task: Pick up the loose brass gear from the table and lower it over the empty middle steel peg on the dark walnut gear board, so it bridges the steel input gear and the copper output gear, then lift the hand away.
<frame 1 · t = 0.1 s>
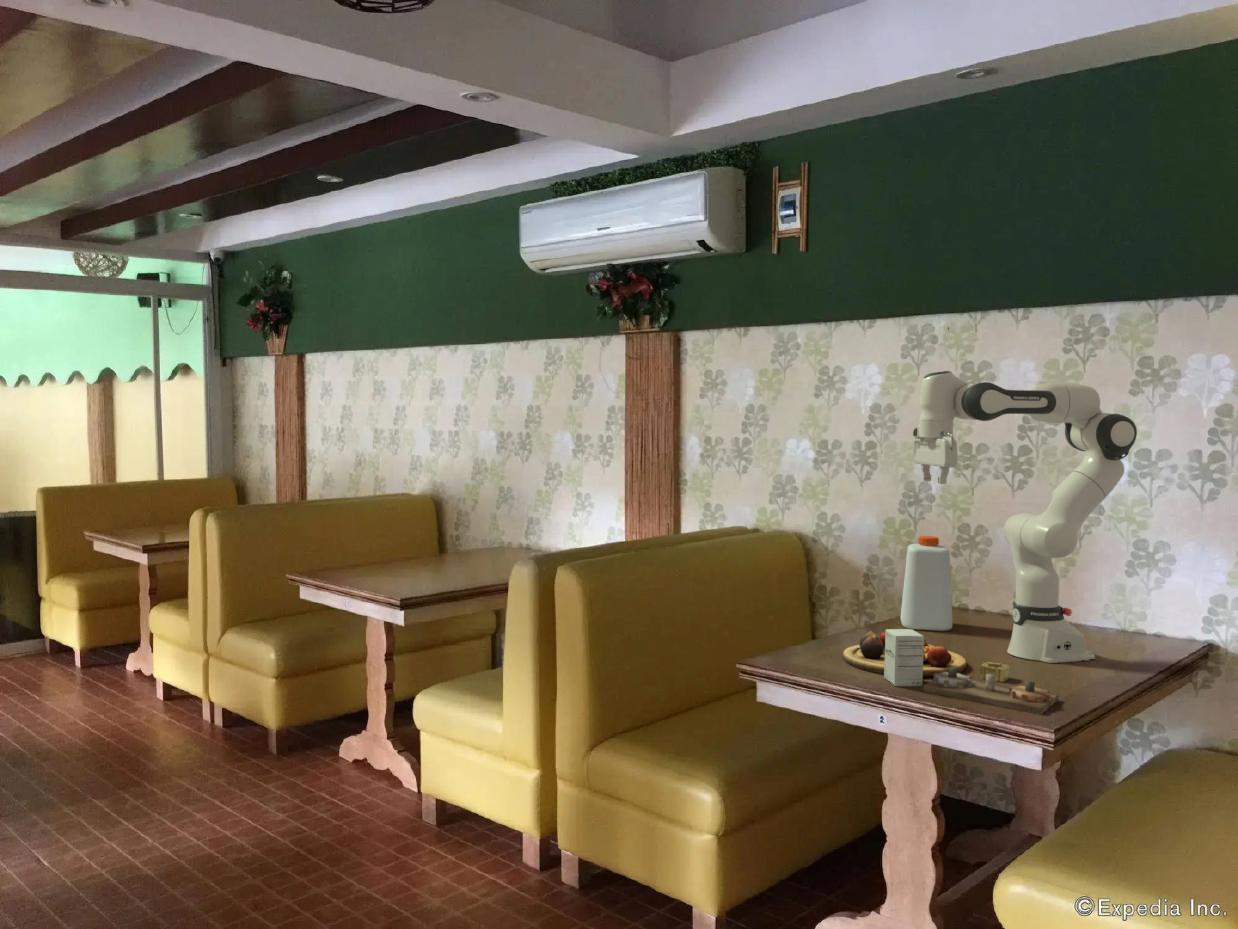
hand: (934, 482, 269), 48 cm above the table, tool pointing down, fingers open, 8 cm apart
brass gear: (994, 678, 251), on the table
plastic bottle: (925, 626, 311), on the table
supplement box: (903, 683, 246), on the table
wooden plate with food: (903, 664, 266), on the table
gear board: (989, 696, 235), on the table
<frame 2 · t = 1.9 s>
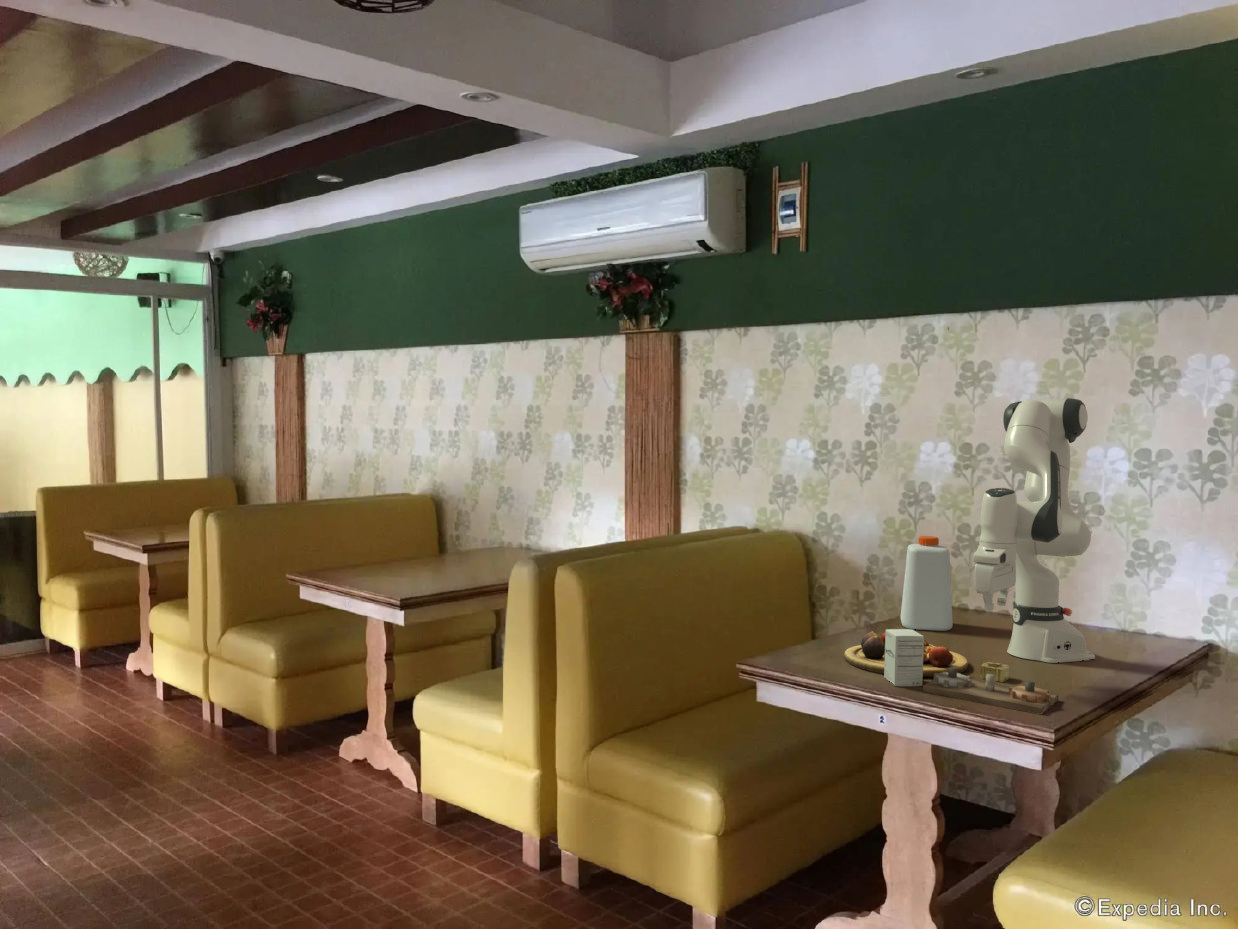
hand: (995, 607, 250), 18 cm above the table, tool pointing down, fingers open, 8 cm apart
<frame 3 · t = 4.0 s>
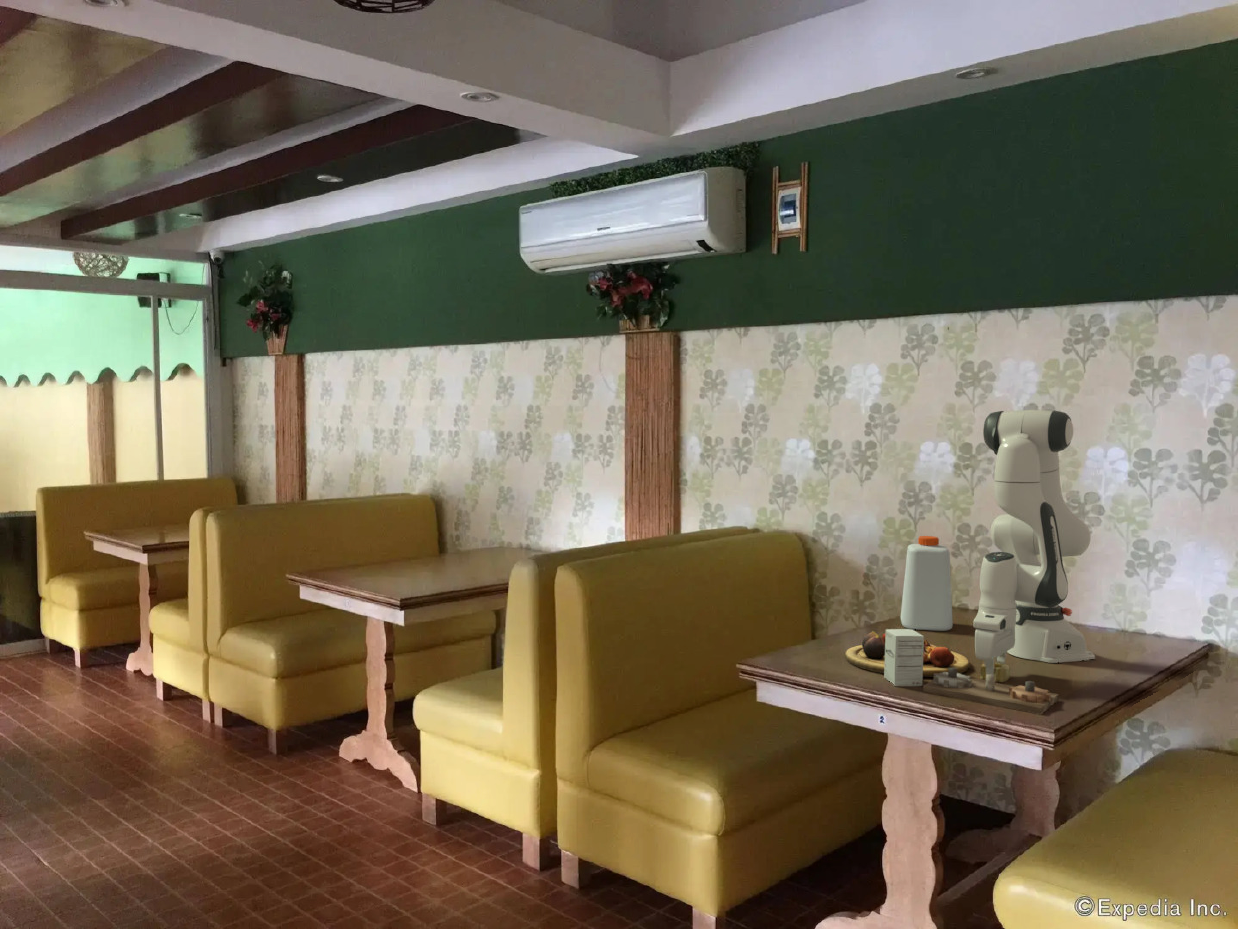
hand: (995, 671, 251), 2 cm above the table, tool pointing down, fingers closed on brass gear, 6 cm apart
brass gear: (994, 678, 251), on the table, touching gripper
everything else where it was.
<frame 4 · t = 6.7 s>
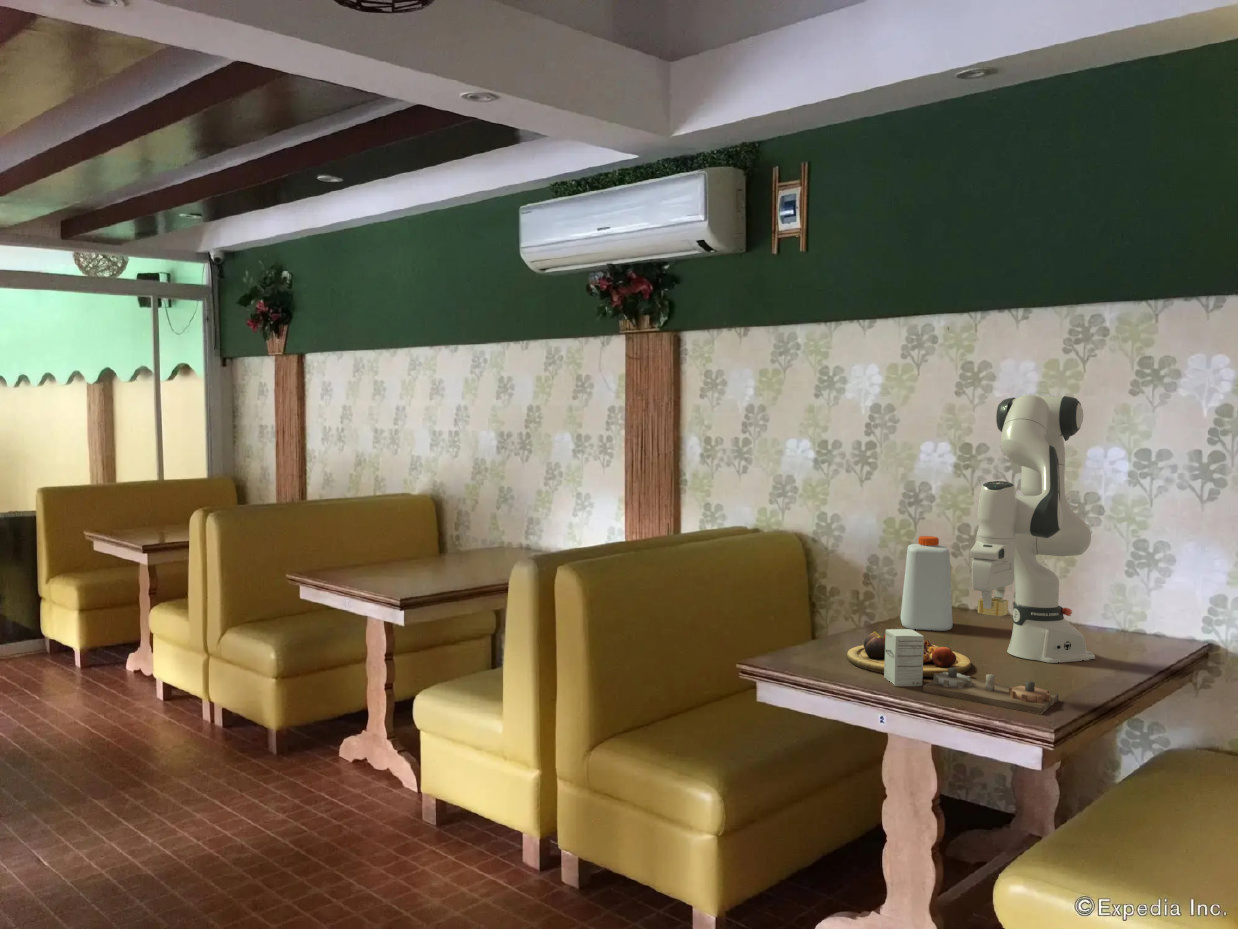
hand: (993, 606, 239), 20 cm above the table, tool pointing down, fingers closed on brass gear, 6 cm apart
brass gear: (992, 613, 239), point 19 cm above the table, touching gripper
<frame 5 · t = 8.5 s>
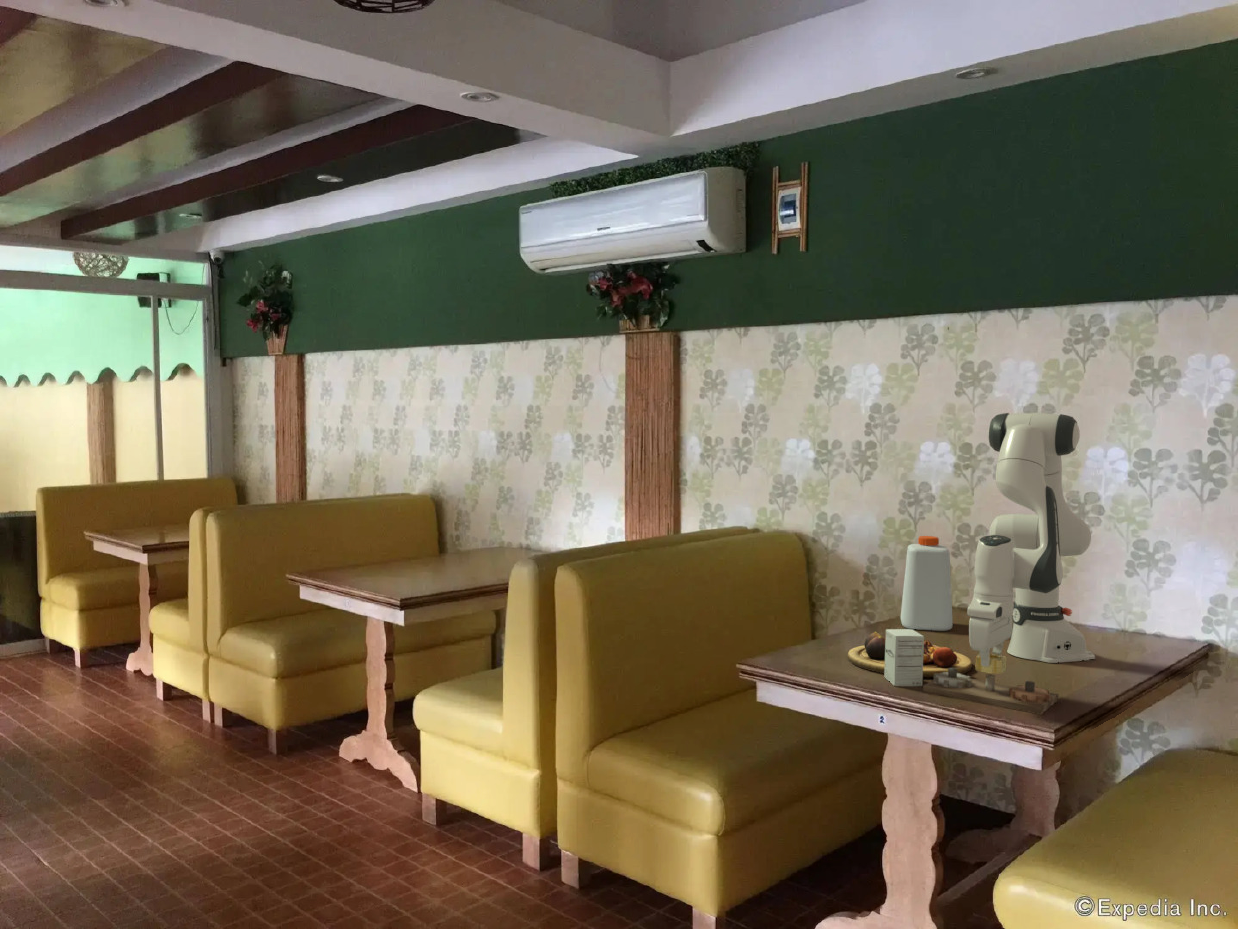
hand: (990, 663, 234), 8 cm above the table, tool pointing down, fingers closed on brass gear, 6 cm apart
brass gear: (990, 670, 234), point 6 cm above the table, touching gripper
when the fingers open (4 cm above the table, at t = 9.7 s): brass gear drops 1 cm, resting on gear board.
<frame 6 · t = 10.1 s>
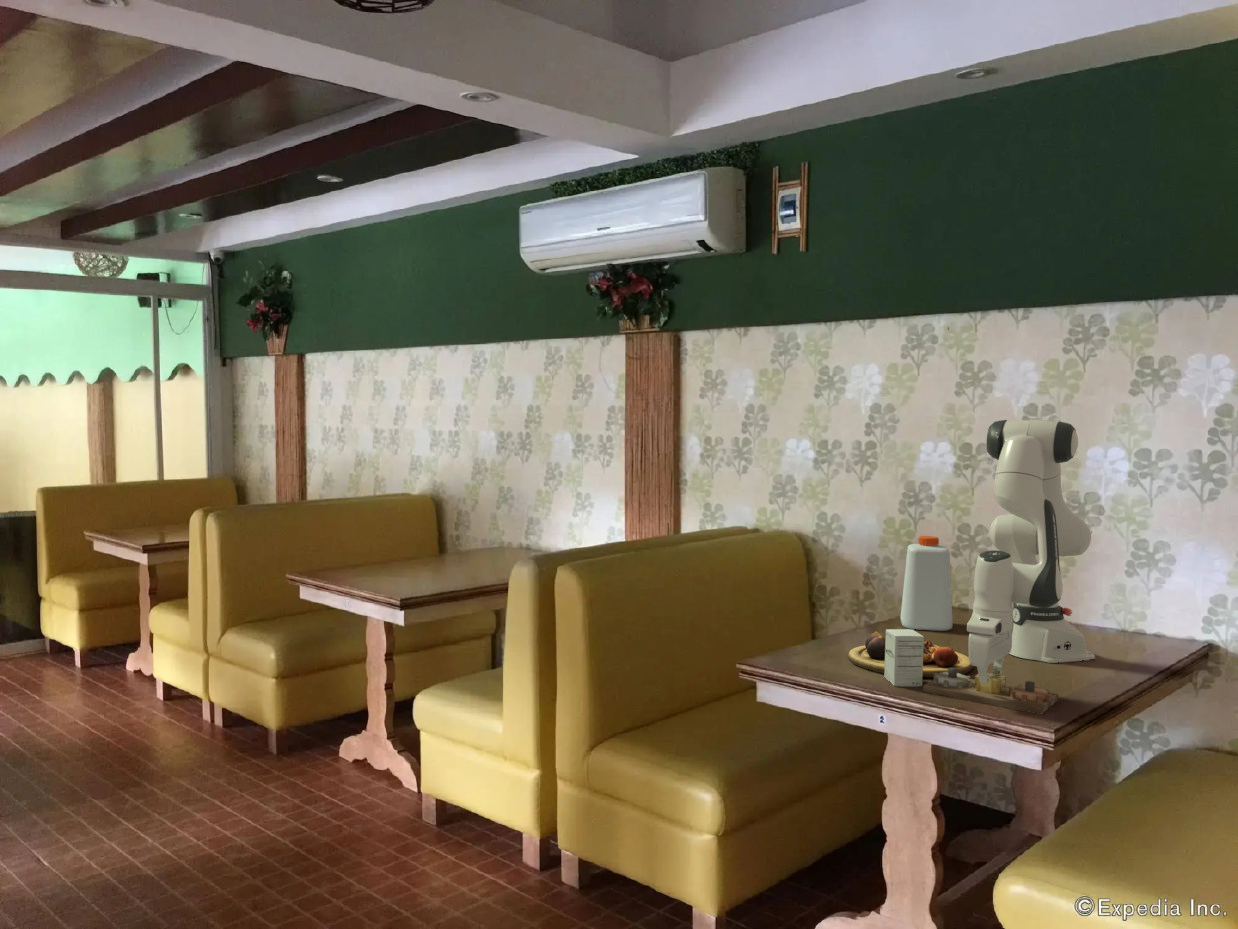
hand: (990, 678, 235), 4 cm above the table, tool pointing down, fingers open, 8 cm apart
brass gear: (989, 689, 235), point 1 cm above the table, touching gear board
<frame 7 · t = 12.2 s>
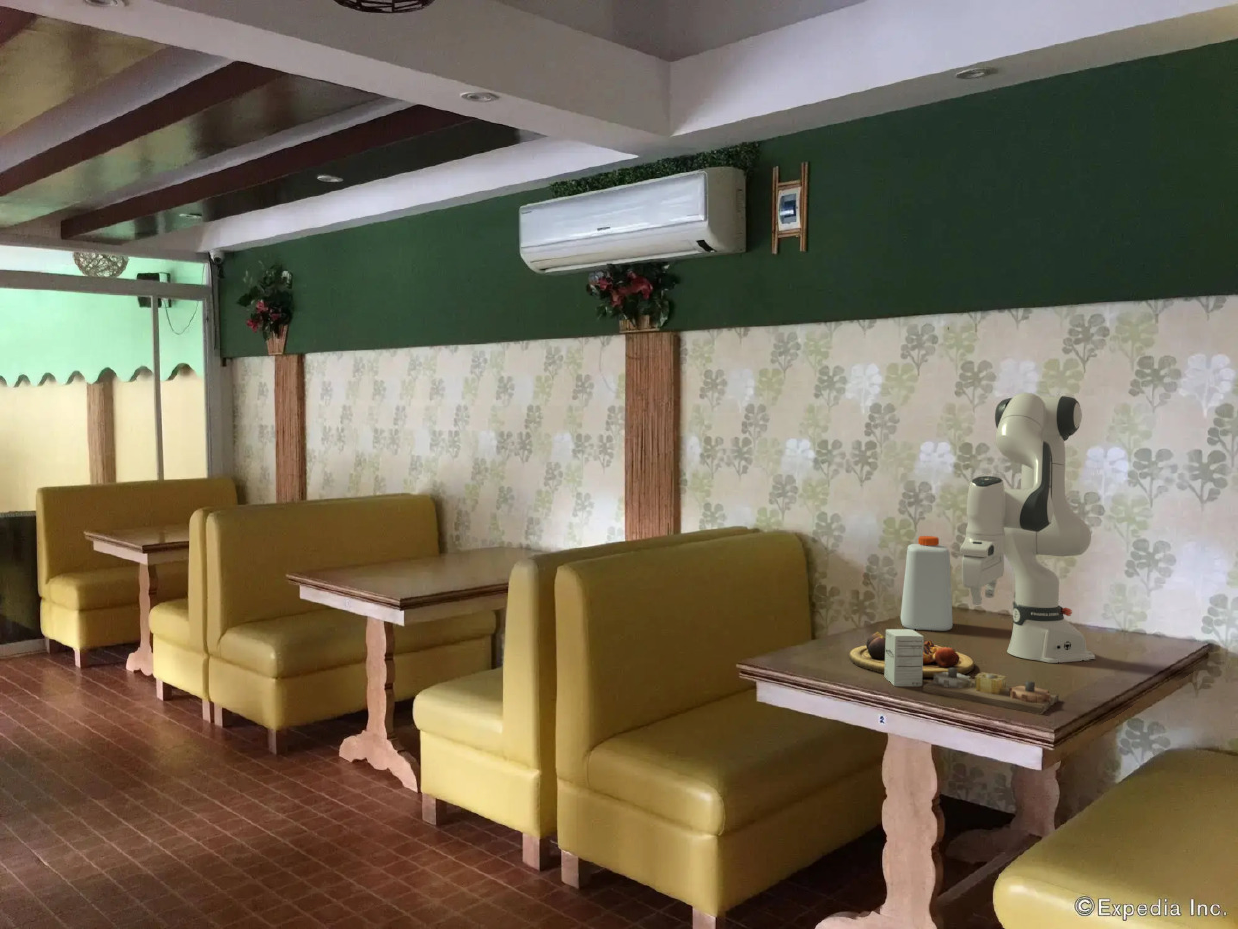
hand: (983, 600, 240), 21 cm above the table, tool pointing down, fingers open, 8 cm apart
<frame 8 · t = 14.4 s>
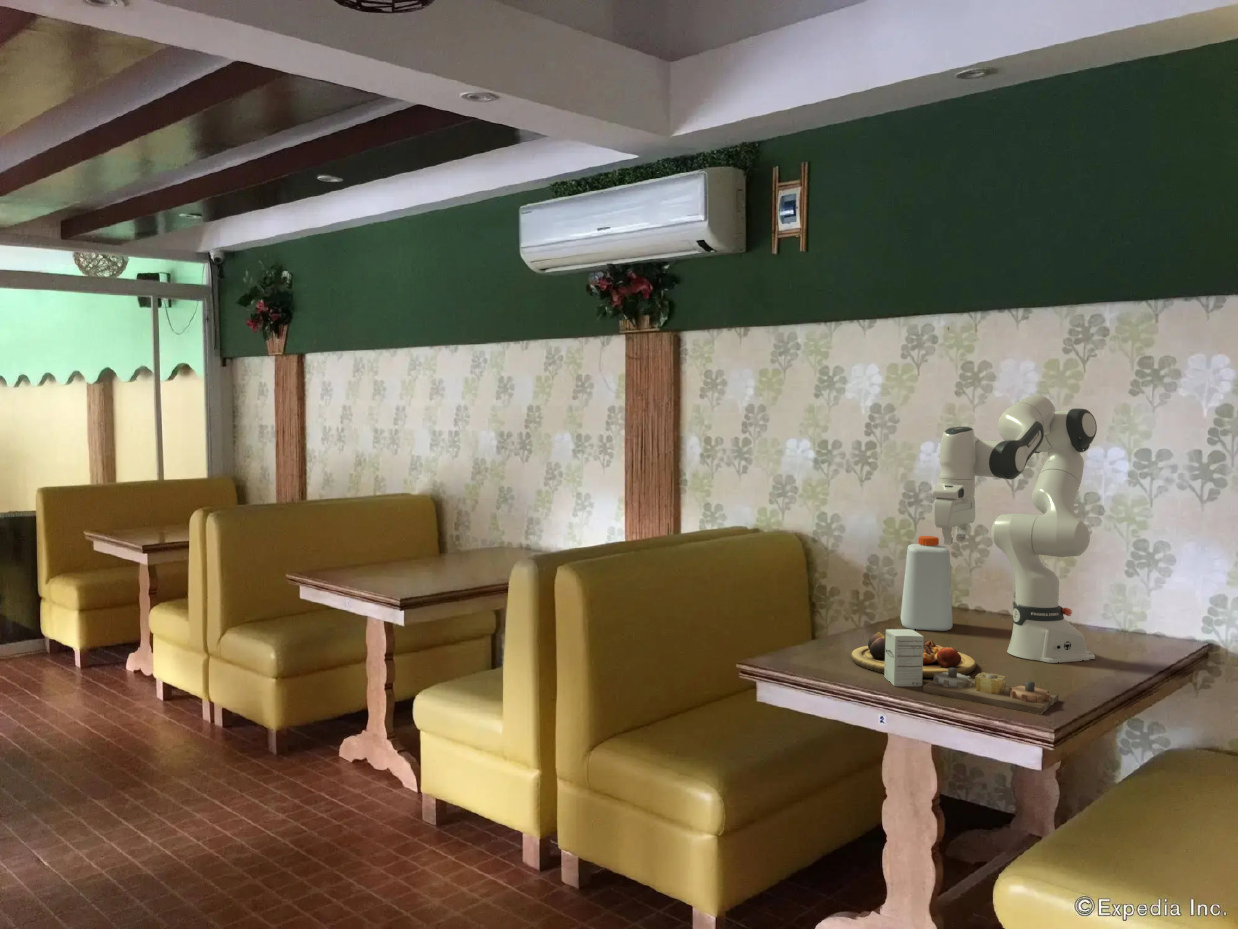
hand: (954, 542, 258), 33 cm above the table, tool pointing down, fingers open, 8 cm apart
at the end: brass gear 0.1 cm off-centre on the gear board, point 1.5 cm above the gear board's base; brass gear tilted 0°; the gripper is holding nothing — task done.
